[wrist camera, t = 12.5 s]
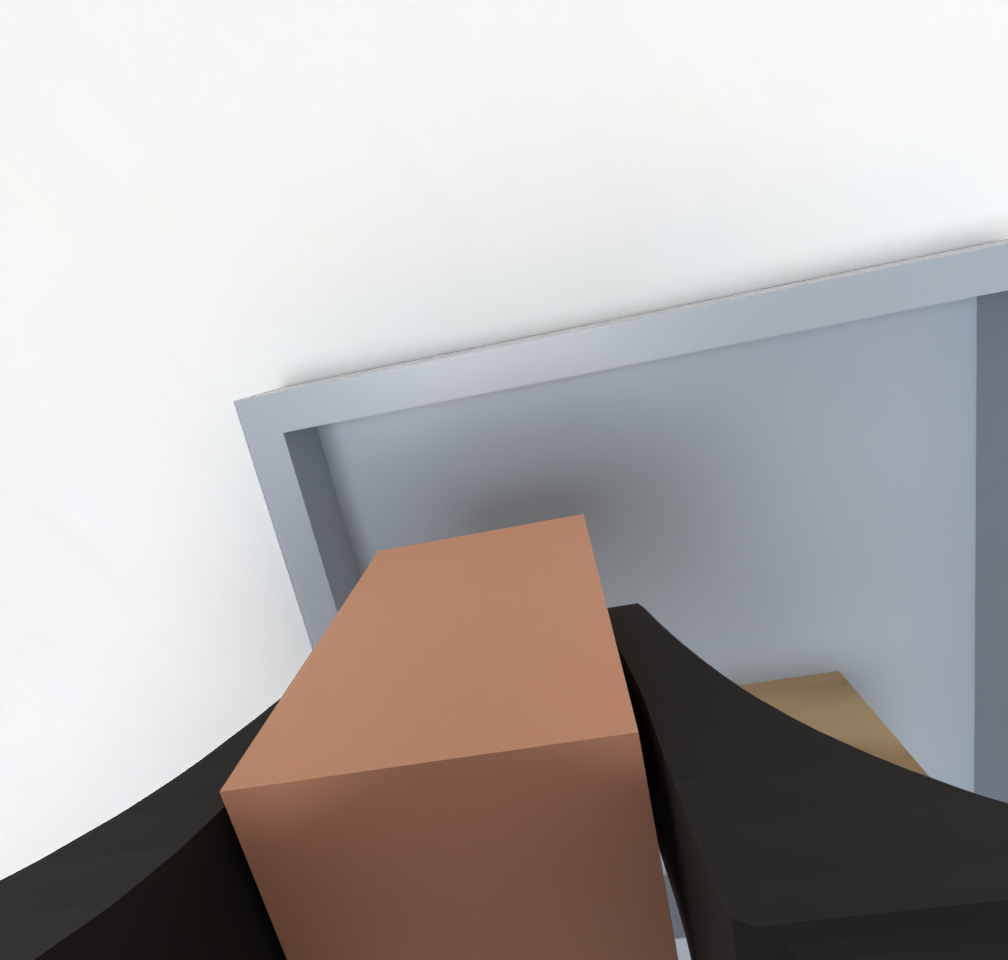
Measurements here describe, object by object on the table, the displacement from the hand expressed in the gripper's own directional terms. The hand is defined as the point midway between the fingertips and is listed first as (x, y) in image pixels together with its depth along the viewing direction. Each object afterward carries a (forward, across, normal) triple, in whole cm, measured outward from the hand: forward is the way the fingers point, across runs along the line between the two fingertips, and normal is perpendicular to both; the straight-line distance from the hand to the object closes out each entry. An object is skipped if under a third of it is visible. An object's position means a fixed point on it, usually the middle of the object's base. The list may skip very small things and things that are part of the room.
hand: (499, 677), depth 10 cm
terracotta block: (+2, 0, 0) cm, 2 cm away
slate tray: (+8, -4, +5) cm, 10 cm away
